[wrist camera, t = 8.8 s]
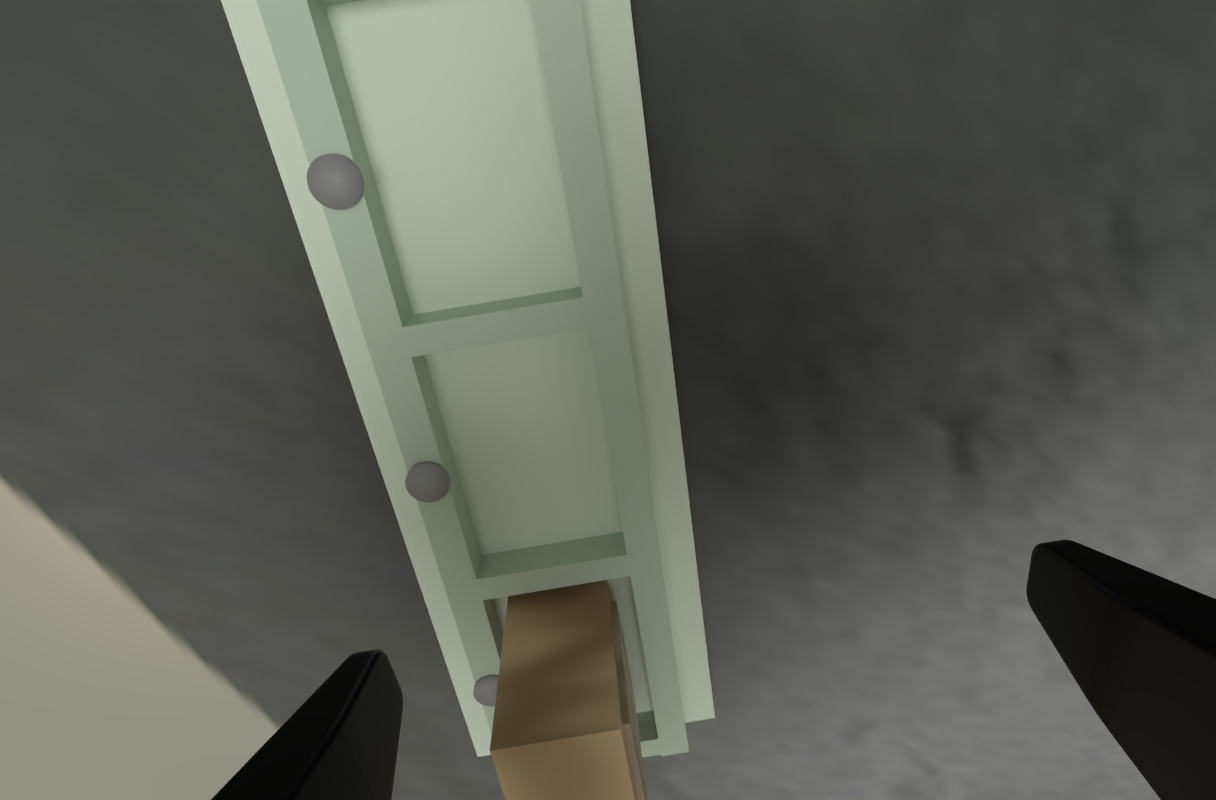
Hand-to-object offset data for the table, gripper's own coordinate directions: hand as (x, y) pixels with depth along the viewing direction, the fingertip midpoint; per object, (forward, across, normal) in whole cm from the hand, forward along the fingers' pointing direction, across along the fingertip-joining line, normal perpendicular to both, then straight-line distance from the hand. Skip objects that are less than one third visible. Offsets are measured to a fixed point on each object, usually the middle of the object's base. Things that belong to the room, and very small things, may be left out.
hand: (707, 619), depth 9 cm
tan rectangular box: (+10, +4, +10) cm, 15 cm away
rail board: (+11, +4, +2) cm, 12 cm away
